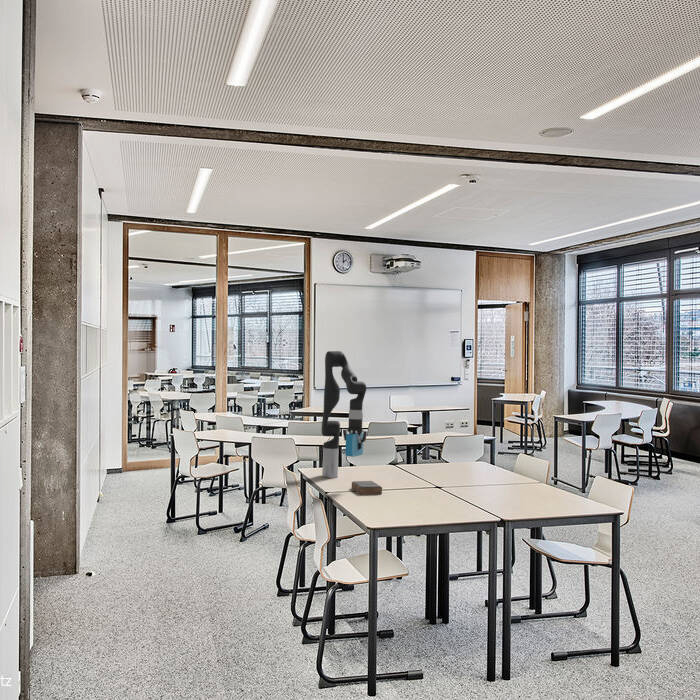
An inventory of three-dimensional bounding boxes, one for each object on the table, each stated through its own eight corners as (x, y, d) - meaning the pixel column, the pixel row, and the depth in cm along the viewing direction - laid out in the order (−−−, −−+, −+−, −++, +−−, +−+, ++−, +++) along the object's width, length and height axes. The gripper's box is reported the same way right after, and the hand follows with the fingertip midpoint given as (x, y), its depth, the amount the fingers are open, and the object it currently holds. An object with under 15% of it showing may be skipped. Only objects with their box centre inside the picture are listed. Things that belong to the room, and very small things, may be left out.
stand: (351, 488, 351) (351, 481, 351) (372, 487, 354) (372, 480, 354) (360, 494, 336) (360, 487, 336) (381, 494, 340) (382, 486, 340)
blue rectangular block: (355, 453, 355) (356, 432, 355) (362, 454, 352) (363, 432, 353) (344, 456, 344) (345, 433, 344) (352, 457, 342) (353, 434, 342)
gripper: (340, 417, 348) (339, 448, 347) (365, 419, 343) (364, 451, 342) (345, 416, 355) (344, 447, 354) (370, 418, 350) (369, 449, 349)
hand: (354, 449), depth 348 cm, fingers closed on blue rectangular block, 5 cm apart
